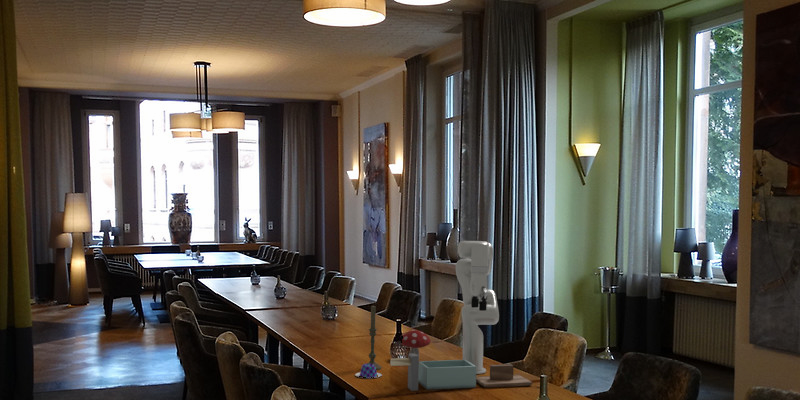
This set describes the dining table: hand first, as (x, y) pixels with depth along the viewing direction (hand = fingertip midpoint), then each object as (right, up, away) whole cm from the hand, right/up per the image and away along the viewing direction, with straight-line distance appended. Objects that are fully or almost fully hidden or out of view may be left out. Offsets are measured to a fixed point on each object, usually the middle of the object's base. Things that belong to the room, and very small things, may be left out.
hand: (478, 308), depth 327 cm
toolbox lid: (+10, -33, -2) cm, 34 cm away
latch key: (-33, -21, -16) cm, 42 cm away
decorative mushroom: (-28, -32, +45) cm, 61 cm away
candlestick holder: (-48, -32, +24) cm, 62 cm away
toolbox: (-18, -32, -7) cm, 37 cm away
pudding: (-49, -32, +8) cm, 59 cm away
